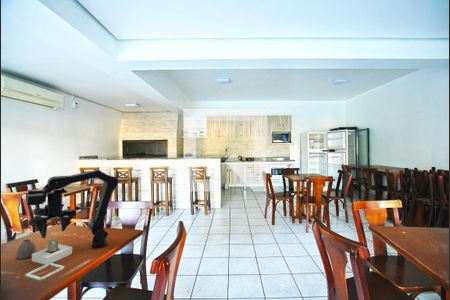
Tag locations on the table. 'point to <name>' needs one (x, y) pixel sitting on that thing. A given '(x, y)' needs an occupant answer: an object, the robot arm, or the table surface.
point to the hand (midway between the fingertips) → (53, 234)
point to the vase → (26, 249)
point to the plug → (52, 246)
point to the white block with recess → (51, 255)
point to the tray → (47, 274)
